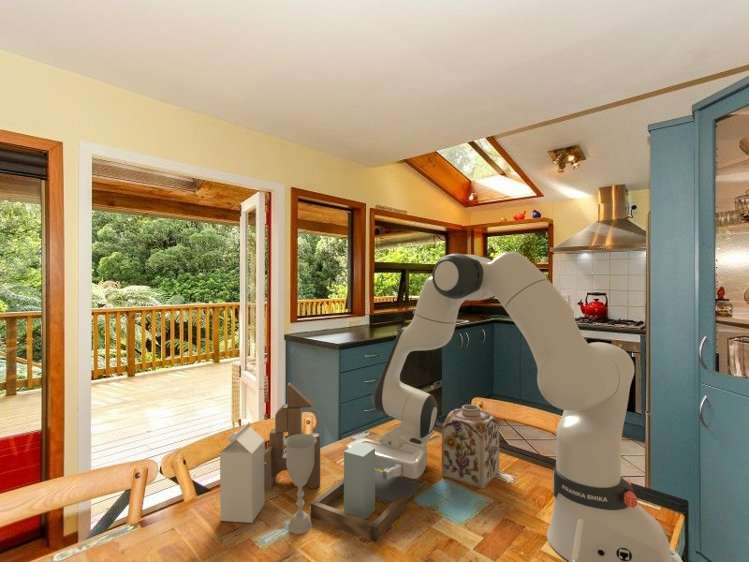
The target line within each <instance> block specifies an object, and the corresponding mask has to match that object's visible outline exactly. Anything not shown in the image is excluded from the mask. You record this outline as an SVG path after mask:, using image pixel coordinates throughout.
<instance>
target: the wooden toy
mask: <svg viewBox="0 0 749 562" xmlns="http://www.w3.org/2000/svg"><path fill="white" fill-rule="evenodd" d="M286 385H287V386H286V387H287V389H286V391H287V392H286V393H287V395H286V396H287V397H286V398H287V399H286V400H287V403H284V404H282V405H281V406H280V408H279V409H278V410H277V411H276V413H275V414H274V415H275V416H274V417H275V418H274V419H275V421H274V424H275V427H274V428H271V430H270V433H269V438H268V439H269V446H268V447H267V448H266V449H264V491H272V489H273V486H274V483H275V481H276V479H277V476H278V474H280V473H281V472H284V471H288V470H287V467H286V452H285V445H284V440H285V433H287V437H289V436H292V435H297V434H304V432H303V408H312V406H313V403H312V401H311V400H309V398H307V397H306V395H304V394H303V393H302V392H301V391H300V390H299V389H298V388H297V387H296V386H295V385H294V384H292V382H288V384H286ZM308 435H312V436H314V437H315V438H316V439H317V441H316V443H315V445H314V466H313V470H312V473H311V475H310V477H309V479H308V481H307V484H306V485H307V487H308V488H309V489H317V488H319V487H320V486H321V435H320V433H318V432H312V433H308Z"/></svg>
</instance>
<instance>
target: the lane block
mask: <svg viewBox="0 0 749 562" xmlns="http://www.w3.org/2000/svg"><path fill="white" fill-rule="evenodd" d="M375 470H376V468H375V448H373V447H369V446H365V445H361V444H357V443H356V444H355V445H353V446H351V447H350V448H348V449H347V450H344V451H343V479H344V495H343V512H346V513H349V514H351V515H354V516H357V517H359V518H362V519H365V520H367V519H368V518H369V517H370V516H371V515H372V514H373V512H375V511H376V498H375Z"/></svg>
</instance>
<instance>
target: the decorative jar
mask: <svg viewBox="0 0 749 562" xmlns="http://www.w3.org/2000/svg"><path fill="white" fill-rule="evenodd" d="M441 427H442V434H441V475H442V476H443V477H445V478H449V479H452V480H454V481H457V482H460V483H463V484H465V483H466V485H468V486H472V487H475V488H477V489H480V490H483V489H484V488H485V487H487V485H488V484H489V483H490V482H491V481H492V480H493V478H494V477H496V475H497V474H498V473H499V472H500V423H499V422H498V420H497V419H496V418H495V416H494V415H492V414H491V413H490V412H488V411H487V410H483V409H481V408H480V406H478V405H475V404H463V405H462V406H461V408H455V409H453V410H450V411H449V412H448V414H447V416H446V418H445V420H444V422H443V423H442V426H441Z"/></svg>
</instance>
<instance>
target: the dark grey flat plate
mask: <svg viewBox="0 0 749 562" xmlns="http://www.w3.org/2000/svg"><path fill="white" fill-rule="evenodd" d="M421 486H422V483H421V482H418V481H415V480H413V479H409V478H406V477H402V476H396V477H392V478H390V479H389V480H388V479H385V478H383V471H382V470H378V469H375V500H379V501H381V502H385V503H387V504H390V505H391V504H392V503H393V502H394V501H395V500H396V499H397V498H398V497H399V496H400V495H402V496H405V503H406V502H407V501H408V500H409V499H410V498H411V497H412V495H414V494H415V492H417V490H418V489H419V488H420V487H421Z"/></svg>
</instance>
